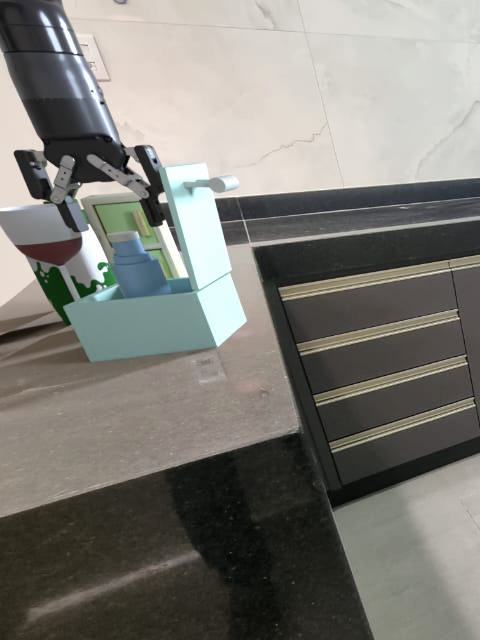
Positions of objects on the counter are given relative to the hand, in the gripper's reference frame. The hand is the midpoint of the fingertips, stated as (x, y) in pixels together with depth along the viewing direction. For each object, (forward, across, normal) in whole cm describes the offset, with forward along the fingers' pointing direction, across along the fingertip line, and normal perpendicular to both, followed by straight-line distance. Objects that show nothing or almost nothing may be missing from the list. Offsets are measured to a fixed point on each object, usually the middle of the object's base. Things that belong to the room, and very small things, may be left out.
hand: (120, 228), depth 72 cm
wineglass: (+18, -16, +13) cm, 27 cm away
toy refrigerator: (+18, -6, +15) cm, 24 cm away
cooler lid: (0, +9, 0) cm, 9 cm away
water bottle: (+16, 0, 0) cm, 17 cm away
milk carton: (+18, -20, +22) cm, 35 cm away
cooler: (+18, +1, 0) cm, 18 cm away
